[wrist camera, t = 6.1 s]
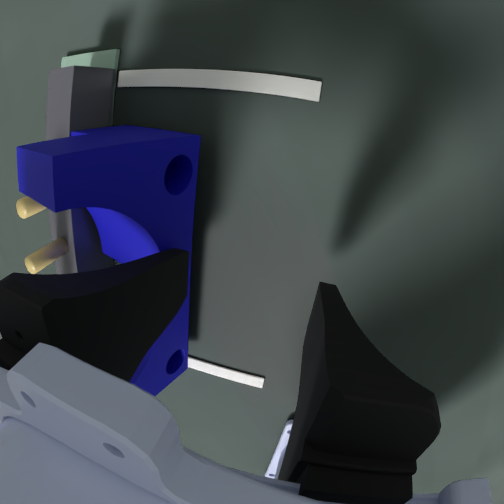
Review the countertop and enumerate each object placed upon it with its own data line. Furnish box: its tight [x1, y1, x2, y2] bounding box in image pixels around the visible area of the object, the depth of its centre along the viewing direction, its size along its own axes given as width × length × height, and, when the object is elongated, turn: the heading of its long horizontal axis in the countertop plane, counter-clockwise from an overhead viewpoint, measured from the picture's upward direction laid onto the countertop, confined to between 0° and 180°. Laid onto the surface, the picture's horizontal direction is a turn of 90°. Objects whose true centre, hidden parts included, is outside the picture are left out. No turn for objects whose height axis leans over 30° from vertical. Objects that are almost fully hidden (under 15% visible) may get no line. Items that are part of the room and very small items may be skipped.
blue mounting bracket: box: [17, 125, 201, 396], centre depth 13 cm, size 12×4×6 cm, turn 172°
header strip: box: [16, 49, 120, 274], centre depth 14 cm, size 18×4×5 cm, turn 172°
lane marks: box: [118, 69, 322, 388], centre depth 15 cm, size 16×9×1 cm, turn 172°
